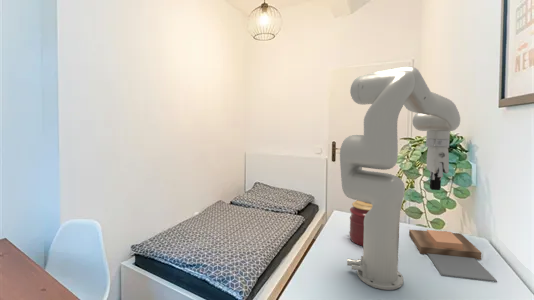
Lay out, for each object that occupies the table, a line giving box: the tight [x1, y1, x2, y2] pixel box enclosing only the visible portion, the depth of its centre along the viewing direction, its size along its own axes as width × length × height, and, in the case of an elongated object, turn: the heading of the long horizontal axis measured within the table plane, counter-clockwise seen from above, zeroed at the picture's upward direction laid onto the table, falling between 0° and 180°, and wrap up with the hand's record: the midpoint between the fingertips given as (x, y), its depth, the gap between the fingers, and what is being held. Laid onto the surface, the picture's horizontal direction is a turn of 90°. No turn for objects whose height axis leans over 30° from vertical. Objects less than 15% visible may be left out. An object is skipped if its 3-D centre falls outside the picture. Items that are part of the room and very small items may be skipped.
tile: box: [426, 229, 463, 250], centre depth 94 cm, size 8×10×2 cm
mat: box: [426, 253, 498, 283], centre depth 82 cm, size 14×13×1 cm
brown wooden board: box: [408, 229, 482, 261], centre depth 96 cm, size 18×15×2 cm
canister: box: [349, 200, 372, 247], centre depth 101 cm, size 13×13×18 cm
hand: (435, 189), depth 103 cm, fingers closed
